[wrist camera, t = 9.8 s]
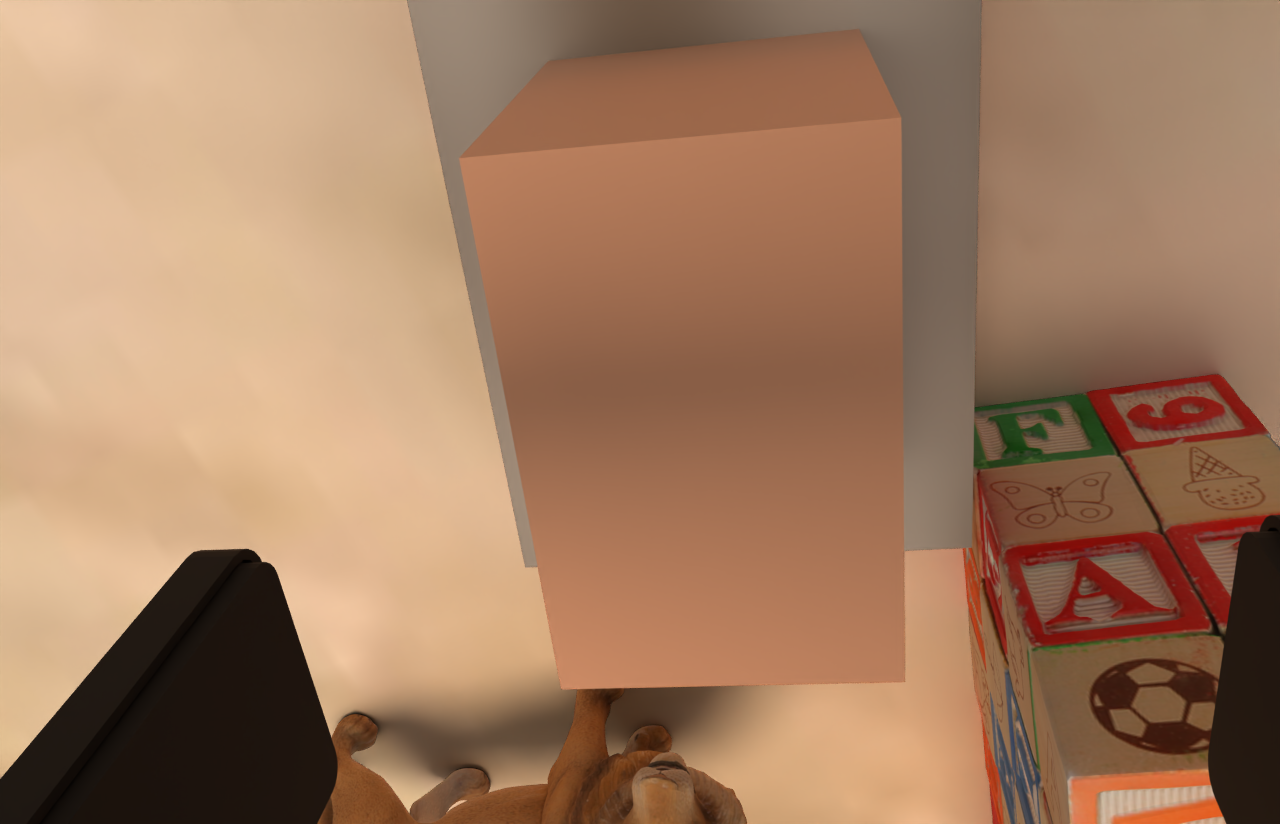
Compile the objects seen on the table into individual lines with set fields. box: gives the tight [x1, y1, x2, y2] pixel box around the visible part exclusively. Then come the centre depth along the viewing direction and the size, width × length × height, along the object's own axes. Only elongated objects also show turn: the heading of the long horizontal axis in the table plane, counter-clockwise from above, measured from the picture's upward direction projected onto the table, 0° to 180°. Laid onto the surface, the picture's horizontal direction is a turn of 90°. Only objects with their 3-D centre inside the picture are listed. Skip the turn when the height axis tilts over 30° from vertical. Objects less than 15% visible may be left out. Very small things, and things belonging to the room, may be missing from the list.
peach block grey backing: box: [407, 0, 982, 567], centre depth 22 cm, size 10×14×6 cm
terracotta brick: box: [459, 29, 905, 689], centre depth 17 cm, size 5×8×6 cm, turn 7°
